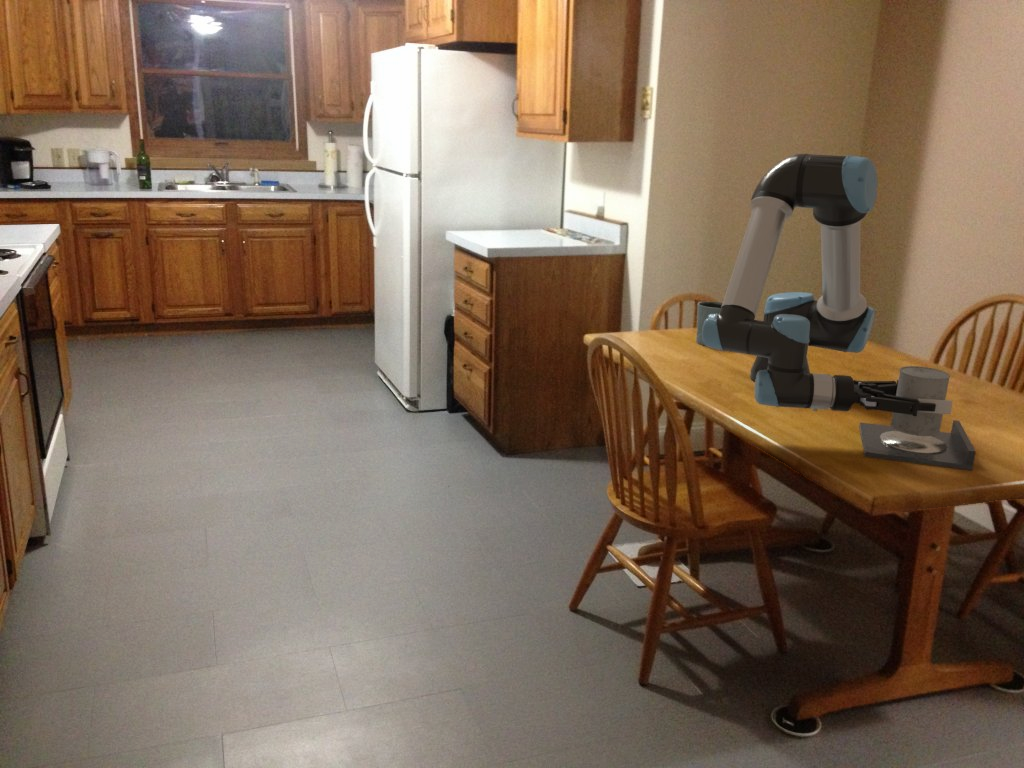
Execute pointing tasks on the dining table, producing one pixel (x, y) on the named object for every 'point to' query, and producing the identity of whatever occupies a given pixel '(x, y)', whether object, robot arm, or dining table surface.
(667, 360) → the dining table surface
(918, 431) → the speckled tin can
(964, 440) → the plate
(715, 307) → the blue grey cup
